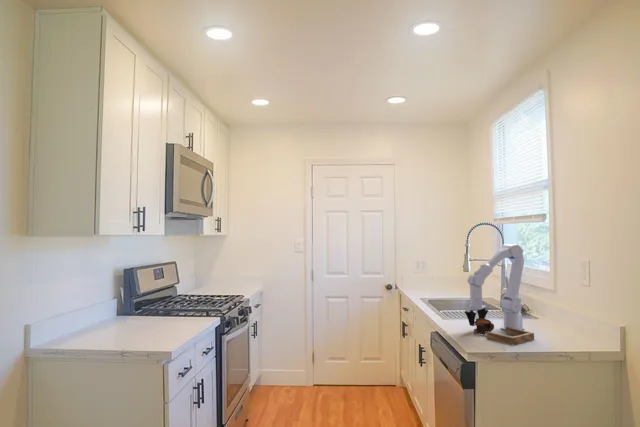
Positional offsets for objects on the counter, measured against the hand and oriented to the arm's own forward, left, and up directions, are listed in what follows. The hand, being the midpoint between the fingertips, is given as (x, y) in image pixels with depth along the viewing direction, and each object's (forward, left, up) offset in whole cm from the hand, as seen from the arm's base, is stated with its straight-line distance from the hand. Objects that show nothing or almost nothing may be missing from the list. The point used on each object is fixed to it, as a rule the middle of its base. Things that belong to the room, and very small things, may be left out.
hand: (476, 324), depth 210 cm
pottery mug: (+1, +5, -3) cm, 6 cm away
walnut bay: (0, +18, -3) cm, 19 cm away
